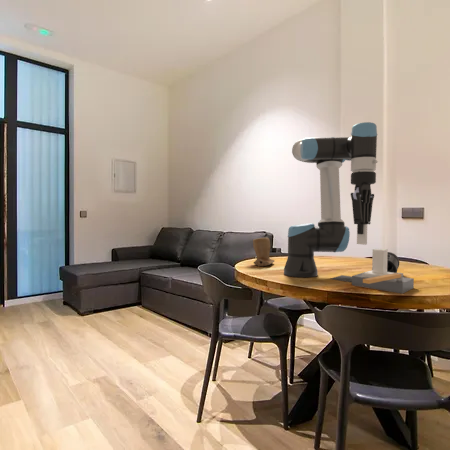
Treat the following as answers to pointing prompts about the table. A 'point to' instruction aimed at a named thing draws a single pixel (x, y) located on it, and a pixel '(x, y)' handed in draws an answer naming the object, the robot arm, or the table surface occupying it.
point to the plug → (378, 264)
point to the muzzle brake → (392, 263)
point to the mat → (343, 278)
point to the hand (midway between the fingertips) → (361, 244)
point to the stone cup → (262, 251)
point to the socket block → (386, 284)
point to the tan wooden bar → (382, 278)
